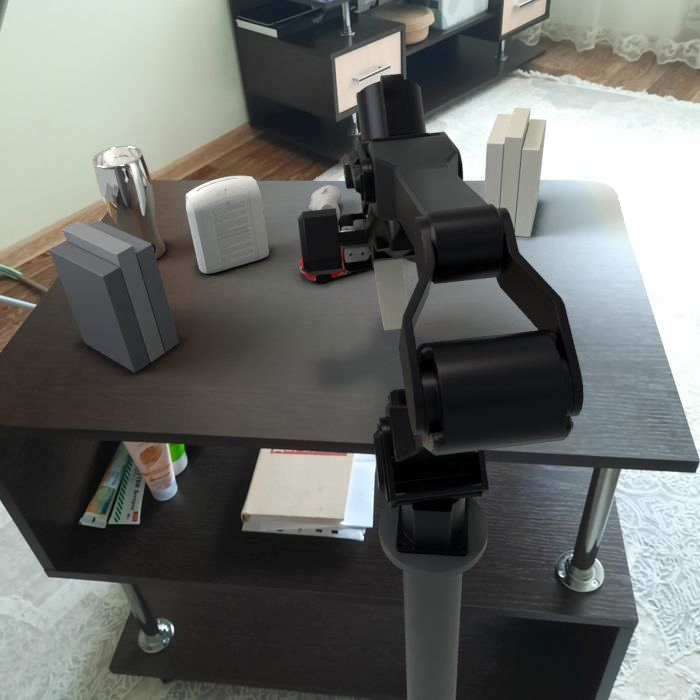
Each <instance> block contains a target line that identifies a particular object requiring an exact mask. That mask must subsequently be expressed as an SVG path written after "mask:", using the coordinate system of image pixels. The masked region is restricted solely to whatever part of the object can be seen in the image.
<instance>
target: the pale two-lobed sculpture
mask: <svg viewBox="0 0 700 700" xmlns="http://www.w3.org/2000/svg"><path fill="white" fill-rule="evenodd" d="M341 199H342V192H341V190H340V189H339V188H338V187H337V186H335V185H323V186H322V187H320V188H318V189H317V190H315V191H314V192H313V193H312V194H311V196H310V204H309V206H308V211H314V210H323V209H332V208H336V212H337V219H338V221H339V218H340V217H341V210H340V209H341V208H340V206H339V203H340V202H341Z"/></svg>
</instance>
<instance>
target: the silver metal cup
mask: <svg viewBox="0 0 700 700" xmlns="http://www.w3.org/2000/svg"><path fill="white" fill-rule="evenodd" d="M92 165H93V169H94V173H95V174H94V175H95V179H96V184H97V185H98V190H99V193H100V196H101V198H102V201H103V203H104V206H105V208H106V209H107V212H108V214H109V216H110V217H111V219H112V221H113V224H114V225H115V228H116V229H119V230H121V231H123V232H125V233H128V234H130V235H132V236H135V237H137V238H139V239H141V240H144V241H146V242H148V243H151V244H152V246H153V250H154V253H155V257H156V260H158V259H160V258H161V257H162V256H163V255H164V254H165V253H166V249H167V247H166V243H165V242H164V239H163V238H162V236H161V234H160V231H159V227H158V224H157V215H156V202H155V191H154V185H153V182H152V177H151V174H150V171H149V170H150V169H149V167H148V164H147V162H146V159H145V157H144V154H143V150H142V149H141V148H140V147H138V146H135V145H134V146H133V145H119V146H113V147H109V148H105V149H103V150H102V151H100V152H98V153H96V154H95V155H94V156H93V157H92Z"/></svg>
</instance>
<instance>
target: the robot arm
mask: <svg viewBox="0 0 700 700" xmlns="http://www.w3.org/2000/svg"><path fill="white" fill-rule="evenodd" d="M355 97H356V98H355V99H356V106H357V107H356V108H357V115H358V116H357V117H358V122H359V123H358V124H359V131H360V140H353V146H354V148H353V151H349V152H346V153H343V156H342V165H343V166H342V167H343V176H344V184H345V189H346V190H352V189H353V190H354V191H355V192H356V193H358V194H359V195H360V202H361V203H360V206H361V212H357V213H347V214H342V215H340V218H339V220H338V219H337V212H336V208H332V209H323V210H314V211H310V210H304V211H302V212H301V214H300V215H299V217H297V223H298V224H297V225H298V232H299V241H300V250H301V259H302V260H303V268H304V271H305V272H306V273H307V274H308V275H310V276H313V275H322V274H331V273H337V272H340V271H343V263H344V268H345V270H347V271H349V272H352V271H356V272H359V271H361V272H362V271H368V270H374V268H373V266H374V263H373V262H377V261H386V260H395V259H402V260H406V261H409V262H412V263H413V264H415V266H416V273H417V278H418V280H417V282H416V285H415V287H414V289H413V292H412V294H411V297H410V299H409V300H408V305H407V308H406V310H405V312H404V315H403V320H402V326H401V329H400V333H399V339H398V346H397V347H398V353H399V360H400V367H401V373H402V380H403V387H404V388H397V389H393V390H392V391H390V393H389V394H388V395H387V402H388V403H387V404H386V406H385V409H384V410H385V411H384V413H385V416H379V418H378V424H376V428H377V429H376V431H375V432H374V434H373V435H372V438H373V439H372V440H373V446H374V447H373V448H374V456H375V465H376V473H377V474H376V475H377V488H378V493H380V494H382V495H384V496H385V498H386V503H389V505H390V508H396V506H399V513H398V525H397V537H396V550H397V551H398V552H399V553H411V554H427V555H443V556H460V557H464V556H467V555H468V499H467V498H470V497H472V498H477V497H479V498H486V497H487V495H488V492H489V490H490V487H489V480H488V471H487V464H486V459H485V458H486V457H485V451H486V450H493V449H503V448H510V447H511V448H512V447H519V446H527V445H535V444H544V443H551V442H561V441H565V440H566V439H567V438H568V437H569V436H570V434H571V433H572V431H573V429H574V426H575V425H574V421H573V417H577V416H580V415H581V412H582V410H583V405H584V399H585V397H584V383H583V382H584V381H583V376H582V370H581V366H580V362H579V357H578V354H577V349H576V345H575V340H574V337H573V333H572V329H571V328H572V327H571V325H570V321H569V320H570V319H569V315H568V313H567V308H566V304H565V302H564V300H563V298H562V296H561V295H559V293H558V292H557V291H556V290H555V289H554V288H553V287H552V286H551V285H550V284H549V283H548V281H546V279H545V278H543V276H542V275H541V274H540V273H539V272H538V271H537V270H536V269H535V268H534V267H533V265H532V264H531V263H530V262H529V261H528V260H527V259H526V258H525V256H523V255H522V253H521V252H520V249H519V246H518V241H517V236H515V232H514V227H513V223H512V220H511V216H510V213H509V212H508V210H507V208H503V207H502V208H496V207H495V206H494V205H493V204H487V203H486V202H485V201H484V198H482V197H481V196H480V195H479V194H478V192H476V191H475V190H474V189H473V188H472V187H471V186H470V185H468V183H466V182H465V181H464V167H463V165H464V164H463V159H462V155H461V152H460V149H459V148H458V146H456V144H455V143H454V142H453V140H452V139H451V137H450V136H449V135H448V133H446V132H445V131H437V132H427V128H426V127H427V126H426V120H425V114H424V113H425V112H424V105H423V104H424V103H423V97H422V90H421V86H420V85H419V84H418V83H417V82H415V81H413V80H411V79H405V77H404V73H393V74H382V75H380V78H379V81H375V82H373V83H371V84H368V85H366V86H365V87H363V88H362V89H361V90H360V91H357V92H356V94H355ZM341 251H342V253H341ZM342 255H343V263H342ZM372 255H373V257H372ZM352 273H353V272H352ZM492 278H496V282H497V284H498V287H499V288H500V289H501V290H502V292H504V294H505V295H507V297H508V298H509V300H511V302H513V303H514V305H516V307H517V308H518V309H519V310H520V311H521V312H522V314H523V315H524V316H525V317H526V318H527V319H528V321H530V322H531V323H532V325H534V327H535V328H536V330H528V331H520V332H519V331H518V332H511V333H501V334H493V335H485V336H484V335H483V336H475V337H474V336H473V337H466V338H457V339H449V340H448V339H447V340H440V341H431V342H422V343H419V345H418V346H417V342H416V338H415V331H414V330H415V328H416V326H417V323H418V320H419V318H420V316H421V314H422V311H423V309H424V307H425V305H426V302H427V300H428V298H429V294H430V290H431V286H432V284H433V285H439V284H448V283H458V282H465V281H467V282H468V281H475V280H476V281H477V280H484V279H492ZM400 546H403V548H400ZM460 550H465V551H464V552H462V551H460Z"/></svg>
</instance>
